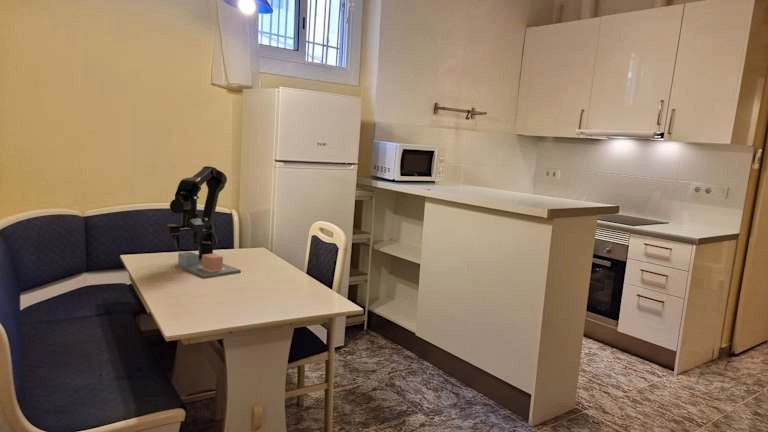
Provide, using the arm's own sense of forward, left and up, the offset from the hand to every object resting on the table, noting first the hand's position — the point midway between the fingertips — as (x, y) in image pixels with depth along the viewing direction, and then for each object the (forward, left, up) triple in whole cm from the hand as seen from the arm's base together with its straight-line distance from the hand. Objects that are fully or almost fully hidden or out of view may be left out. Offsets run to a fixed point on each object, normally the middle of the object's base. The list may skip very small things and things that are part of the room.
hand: (188, 248), depth 209 cm
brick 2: (+13, +3, -6) cm, 15 cm away
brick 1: (0, 0, -7) cm, 7 cm away
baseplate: (+13, +3, -7) cm, 15 cm away
